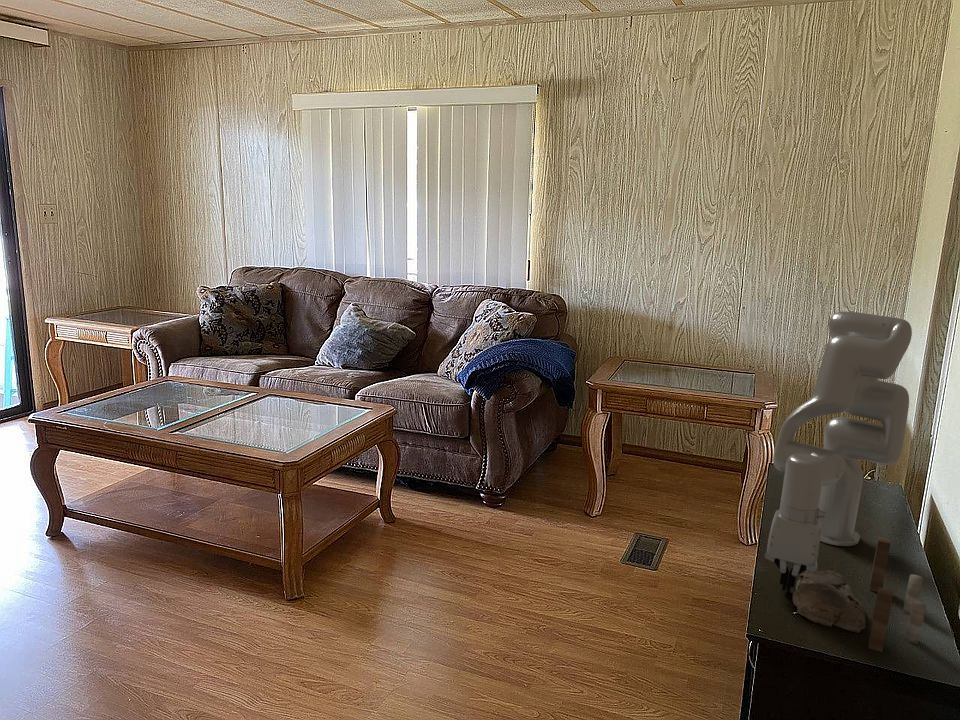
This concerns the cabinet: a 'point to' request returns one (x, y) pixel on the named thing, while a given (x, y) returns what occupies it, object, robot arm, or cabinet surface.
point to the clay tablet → (828, 600)
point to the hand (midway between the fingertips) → (786, 588)
